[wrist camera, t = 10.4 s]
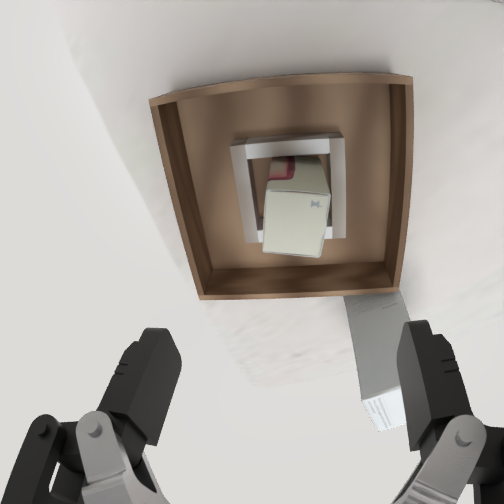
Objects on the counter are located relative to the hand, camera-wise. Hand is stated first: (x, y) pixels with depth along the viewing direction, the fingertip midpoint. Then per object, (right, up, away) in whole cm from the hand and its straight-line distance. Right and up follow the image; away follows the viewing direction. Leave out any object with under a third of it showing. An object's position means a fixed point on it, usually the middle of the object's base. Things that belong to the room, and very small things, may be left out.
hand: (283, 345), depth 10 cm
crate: (+3, +10, +18) cm, 21 cm away
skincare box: (+13, -2, +25) cm, 28 cm away
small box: (+3, +9, +18) cm, 20 cm away
